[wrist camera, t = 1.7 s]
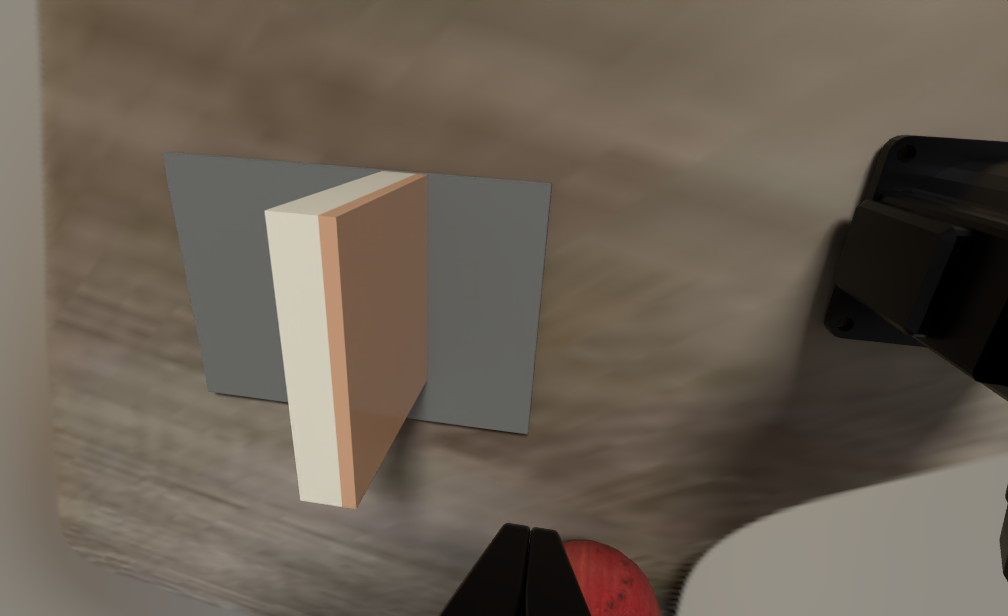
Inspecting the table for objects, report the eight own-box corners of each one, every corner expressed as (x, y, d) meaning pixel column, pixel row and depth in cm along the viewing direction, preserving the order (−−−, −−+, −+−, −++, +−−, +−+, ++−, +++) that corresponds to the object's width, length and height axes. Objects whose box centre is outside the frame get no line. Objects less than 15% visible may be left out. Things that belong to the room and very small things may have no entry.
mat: (551, 183, 17) (551, 184, 16) (528, 428, 21) (527, 434, 20) (170, 152, 18) (162, 152, 18) (214, 386, 22) (208, 391, 22)
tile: (427, 174, 17) (336, 217, 10) (427, 379, 20) (356, 508, 14) (381, 171, 17) (264, 210, 11) (388, 374, 20) (300, 500, 14)
